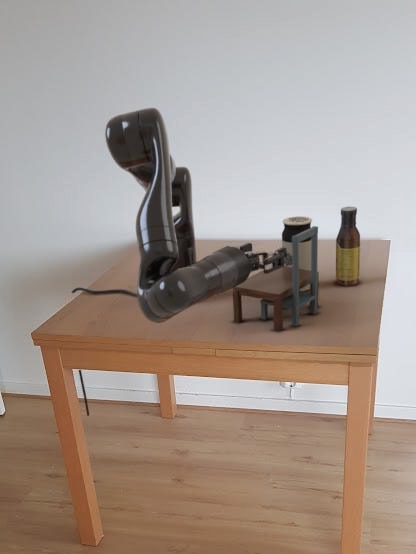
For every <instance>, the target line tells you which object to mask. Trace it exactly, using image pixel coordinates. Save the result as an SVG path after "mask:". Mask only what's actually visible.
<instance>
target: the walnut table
mask: <svg viewBox="0 0 416 554" xmlns="http://www.w3.org/2000/svg"><path fill="white" fill-rule="evenodd" d="M319 272H320V271H318V270H317V294H318V295H319V283H320V281H319V279H320V278H319V277H320V273H319ZM308 284H310V289H309V292H310V293H311V270H304V269H299V290H300V289H302V288H303V287H305V286H307V285H308ZM231 290H232V306H233V307H232V308H233V322H234V323H237V324H238V323H242V322H243V304H242V303H243V302H242V296H245V297H250V298H254V299H255V298H256V299H259V300H262V299H266V300H271V301H273V302H274V306H273V330H274V331H275V332H281V331H282V330H284V317H283V315H284V313H283V309H284V308H283V305H282V300H283V299H284V298H286V297H288V296H290V295H291V294H293V274H292V268H291V267H281V268H279V269H277V270H275V271H273V272H270V273H268V274H265V273H264V269H262V270H260V271H259V272H257V273H255V274H253V275H251V276H248V278H247V280H246V281H245V282H243V283H242V284H240V285H238V286H236V287H234V288H232V289H231ZM310 307H311V301H310V302H309V308H310ZM317 308H319V296H318V297H317Z"/></svg>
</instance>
